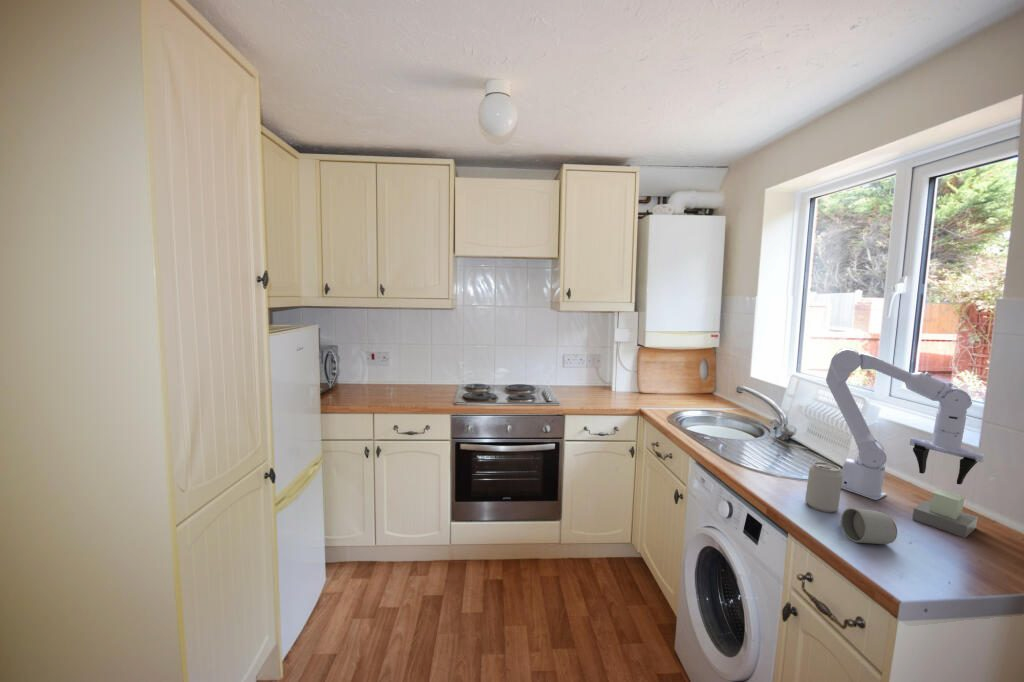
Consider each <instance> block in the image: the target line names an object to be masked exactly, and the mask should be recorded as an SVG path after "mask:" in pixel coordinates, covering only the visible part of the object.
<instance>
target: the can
mask: <svg viewBox="0 0 1024 682" xmlns="http://www.w3.org/2000/svg"><path fill="white" fill-rule="evenodd" d="M842 479H843V474H842V469H841V468H840V466H838V465H835V464H832V463H829V462H824V461H814V462H813V463H812V465H811V466H810V467H809V472H808V477H807V483H806V491H805V502H806V503H807V504H808V506H810V507H811V508H812V507H813V509H814V510H817V511H819V510H820V512H824V513H833V512H836V511H838V510H839V505H840V498H841V491H842V488H841V486H842Z"/></svg>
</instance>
